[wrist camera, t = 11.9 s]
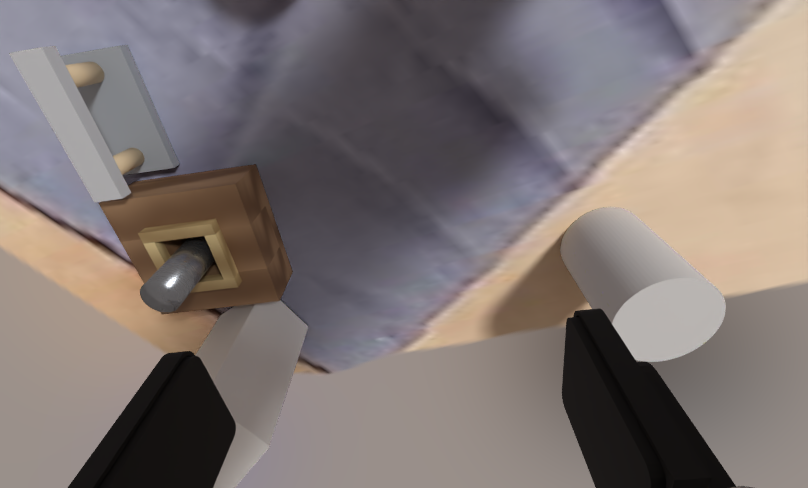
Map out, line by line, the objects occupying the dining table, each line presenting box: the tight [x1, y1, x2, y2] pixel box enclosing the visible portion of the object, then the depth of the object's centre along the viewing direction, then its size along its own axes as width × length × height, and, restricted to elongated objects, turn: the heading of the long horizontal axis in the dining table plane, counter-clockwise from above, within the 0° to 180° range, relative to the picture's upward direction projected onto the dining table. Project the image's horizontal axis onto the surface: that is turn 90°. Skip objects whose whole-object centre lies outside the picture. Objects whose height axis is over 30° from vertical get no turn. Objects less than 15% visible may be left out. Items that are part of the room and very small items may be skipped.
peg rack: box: [9, 45, 179, 202], centre depth 32 cm, size 11×6×6 cm, turn 8°
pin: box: [140, 236, 215, 312], centre depth 35 cm, size 3×3×10 cm
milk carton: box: [195, 300, 308, 488], centre depth 38 cm, size 7×7×19 cm
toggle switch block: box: [99, 164, 293, 314], centre depth 38 cm, size 12×12×6 cm
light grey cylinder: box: [560, 207, 726, 362], centre depth 36 cm, size 8×8×12 cm
